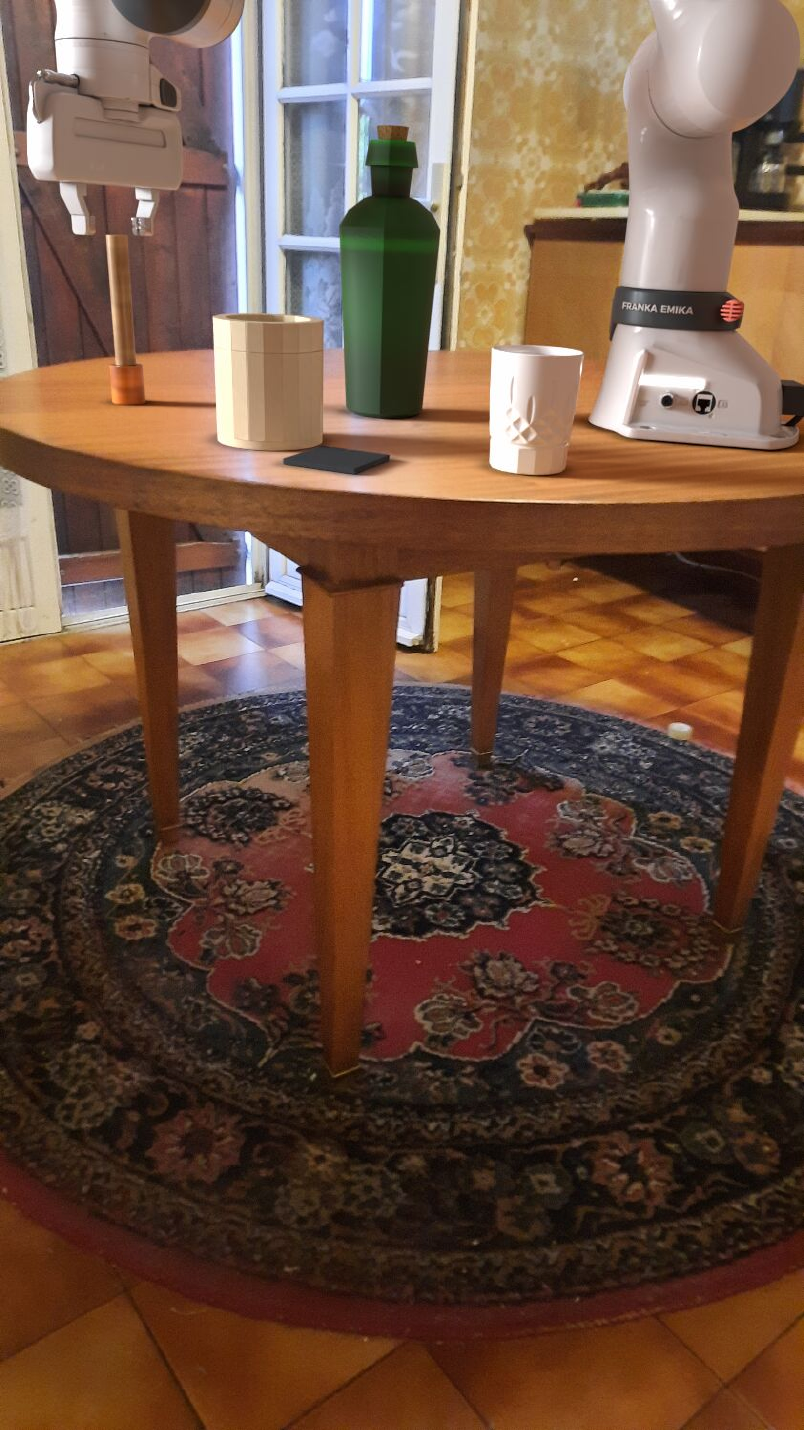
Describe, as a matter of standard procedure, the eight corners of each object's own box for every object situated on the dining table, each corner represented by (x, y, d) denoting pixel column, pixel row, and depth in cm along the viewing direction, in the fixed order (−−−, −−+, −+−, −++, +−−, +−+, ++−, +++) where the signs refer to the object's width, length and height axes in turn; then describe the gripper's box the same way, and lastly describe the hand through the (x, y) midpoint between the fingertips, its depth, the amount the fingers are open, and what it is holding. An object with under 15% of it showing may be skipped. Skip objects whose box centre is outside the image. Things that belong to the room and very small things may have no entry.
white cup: (502, 478, 87) (512, 355, 83) (470, 459, 94) (478, 344, 89) (586, 476, 89) (600, 356, 85) (549, 457, 96) (560, 345, 92)
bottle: (434, 408, 119) (448, 133, 107) (427, 423, 109) (442, 124, 97) (343, 402, 120) (348, 129, 108) (329, 418, 110) (332, 119, 98)
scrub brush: (152, 402, 115) (141, 236, 108) (131, 406, 112) (119, 235, 105) (126, 398, 116) (113, 234, 109) (105, 402, 113) (91, 234, 106)
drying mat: (390, 460, 92) (390, 454, 92) (354, 474, 86) (354, 468, 86) (321, 451, 94) (322, 445, 94) (283, 464, 89) (282, 458, 88)
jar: (340, 438, 100) (342, 319, 96) (288, 455, 92) (287, 325, 87) (254, 426, 104) (251, 311, 99) (196, 442, 96) (190, 317, 91)
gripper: (56, 65, 91) (70, 235, 97) (191, 94, 108) (196, 238, 114) (2, 65, 93) (19, 232, 99) (142, 94, 110) (150, 235, 116)
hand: (115, 235), depth 107 cm, fingers open, 8 cm apart
